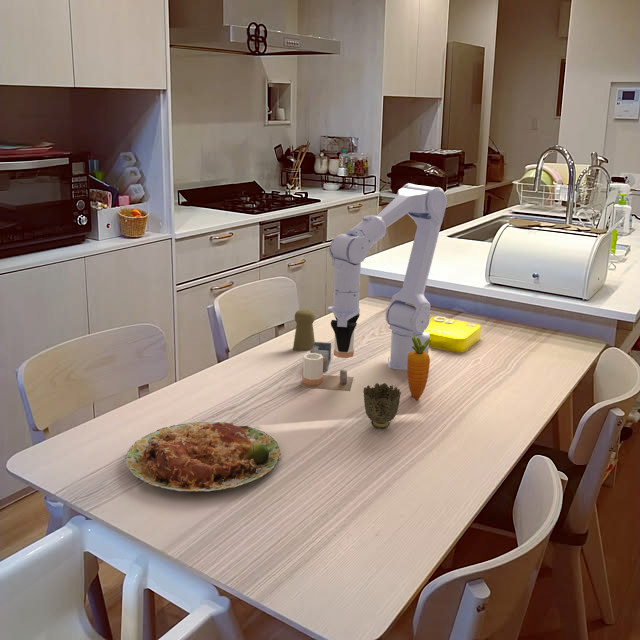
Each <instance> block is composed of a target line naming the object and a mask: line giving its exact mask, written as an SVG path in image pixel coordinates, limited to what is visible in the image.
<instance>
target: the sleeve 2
mask: <svg viewBox="0 0 640 640" xmlns="http://www.w3.org/2000/svg"><path fill="white" fill-rule="evenodd" d="M355 329H356V328H355ZM355 329H354V331H353V333H352V336H351V341H350V346H349V350H348V352H339V351H338V347H337V341H336V336H335V335H334V347H333V348H334V349H333V356H335V357H337V358H340V359H348V358H353V357H354V354H355V348H354V347H355Z"/></svg>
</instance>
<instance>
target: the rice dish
mask: <svg viewBox="0 0 640 640" xmlns="http://www.w3.org/2000/svg"><path fill="white" fill-rule="evenodd" d="M251 440H255V441H251ZM280 451H281V449H280V446H279V445H278V442H277V441H276V440H275V438H273V437H272V436H271V435H269V434H268V433H266V432H265V431H262V430H260V429H257V428H255V427H251V426H248V425H239V426H237V425H235V424H234V423H232V422H226V421H203V422H202V421H201V422H199V421H198V422H197V421H196V422H188V423H181V424H177V425H176V424H174V425H171V426H170V425H169V426H168V427H167V426H166V427H162V428H160V429H157V430H156V431H152V432H150V433H148V434H146V435H145V436H142V437H141V438H140V439H138V440H137V441H135V442H134V444H132V446H130V448H129V449H128V450H127V452H126V455H125V457H124V458H125V462H126V463H125V465H126V466H127V467H128V468H129V469H128V470H129V472H130V473H131V474H133V477H135V478H137V480H138V481H139V480H140V481H141V482H144V483H146V485H151V486H153V487H157V488H161V489H165V490H168V491H174V492H178V493H179V492H181V493H182V492H183V493H184V492H191V493H196V492H198V493H199V492H211V491H216V492H217V491H224V490H226V489H228V488H230V489H234V488H236V487H238V486H244V485H245V484H248V483H252V482H254V480H259V479H260V478H262V477H264V476H265V475H266V474H267V473H269V472H271V471H272V470H273V469H274V467H275V464H277V463H278V462H279V461H280V460H281V459H280V456H281V455H282V454H281V452H280ZM257 470H258V471H257ZM233 480H242V481H239V482H236V483H233V484H231V483H229V484H224V483H226V482H232V481H233Z"/></svg>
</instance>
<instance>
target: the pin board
mask: <svg viewBox="0 0 640 640" xmlns="http://www.w3.org/2000/svg"><path fill="white" fill-rule="evenodd" d="M353 381H354V376H348V370H347V369H340V370H339V375H329V374H323V382H322V383H320V384H318V385H309V384H306V383H304V382H303V381H302V384H301V388H305V389H318V390H320V389H321V390H329V391H330V390H332V391H345V392H351V389H352V385H353Z"/></svg>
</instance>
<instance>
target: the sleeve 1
mask: <svg viewBox="0 0 640 640" xmlns="http://www.w3.org/2000/svg"><path fill="white" fill-rule="evenodd" d="M302 365H303V367H302V372H303V373H302V383H303V382H304V383H306V384H309V385H318V384H320V383H322V382H323V375H324V372H323V371H324V370H323V356H322V355H321V354H317V353H310V352H308V353H306V354H304V355H303V363H302Z"/></svg>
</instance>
